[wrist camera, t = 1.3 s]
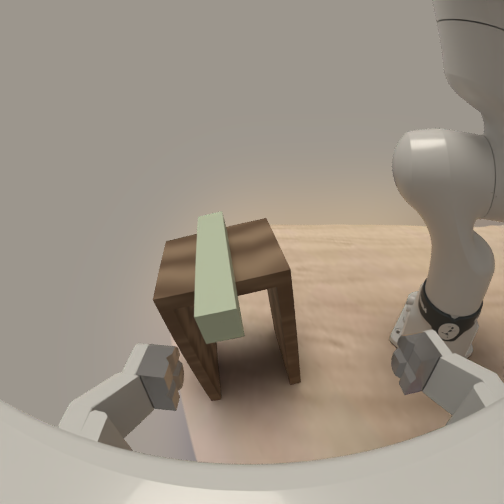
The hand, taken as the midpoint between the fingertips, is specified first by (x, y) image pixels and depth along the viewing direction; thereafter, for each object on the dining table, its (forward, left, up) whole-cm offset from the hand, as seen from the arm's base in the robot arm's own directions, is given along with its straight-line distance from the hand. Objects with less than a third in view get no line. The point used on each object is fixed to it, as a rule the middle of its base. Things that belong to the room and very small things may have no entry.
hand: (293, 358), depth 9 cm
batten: (-13, -16, -10) cm, 23 cm away
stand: (-17, -20, -35) cm, 44 cm away
